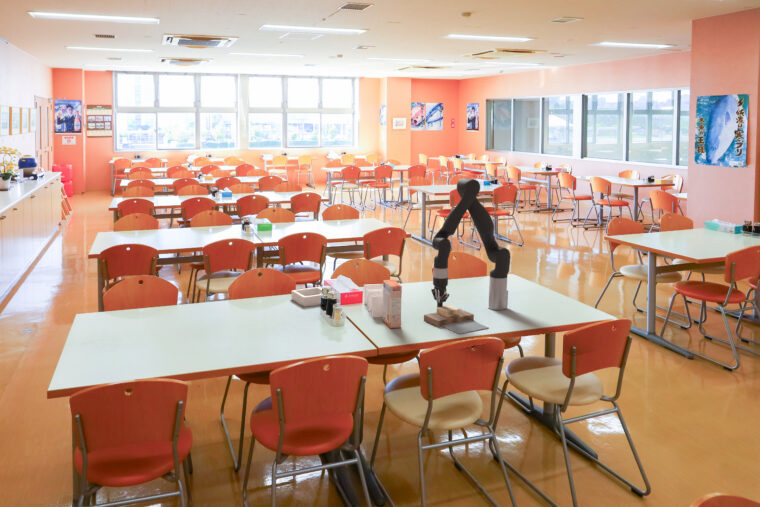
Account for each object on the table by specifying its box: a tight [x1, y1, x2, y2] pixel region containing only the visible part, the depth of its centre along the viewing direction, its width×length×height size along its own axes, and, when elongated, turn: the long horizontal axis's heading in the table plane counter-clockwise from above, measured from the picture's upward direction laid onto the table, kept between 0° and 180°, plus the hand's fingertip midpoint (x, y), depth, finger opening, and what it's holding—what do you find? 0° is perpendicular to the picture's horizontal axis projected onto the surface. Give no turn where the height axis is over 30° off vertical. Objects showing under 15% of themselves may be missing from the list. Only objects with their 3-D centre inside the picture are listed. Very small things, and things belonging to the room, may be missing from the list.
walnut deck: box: [423, 308, 475, 328], centre depth 322 cm, size 22×12×3 cm, turn 121°
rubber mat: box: [441, 320, 490, 335], centre depth 312 cm, size 18×15×1 cm
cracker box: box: [382, 279, 403, 329], centre depth 314 cm, size 14×6×21 cm, turn 14°
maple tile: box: [436, 304, 460, 317], centre depth 322 cm, size 8×8×3 cm
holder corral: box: [291, 286, 323, 307], centre depth 356 cm, size 17×17×5 cm
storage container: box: [363, 283, 383, 318], centre depth 339 cm, size 25×11×11 cm, turn 11°
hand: (439, 309), depth 328 cm, fingers closed
